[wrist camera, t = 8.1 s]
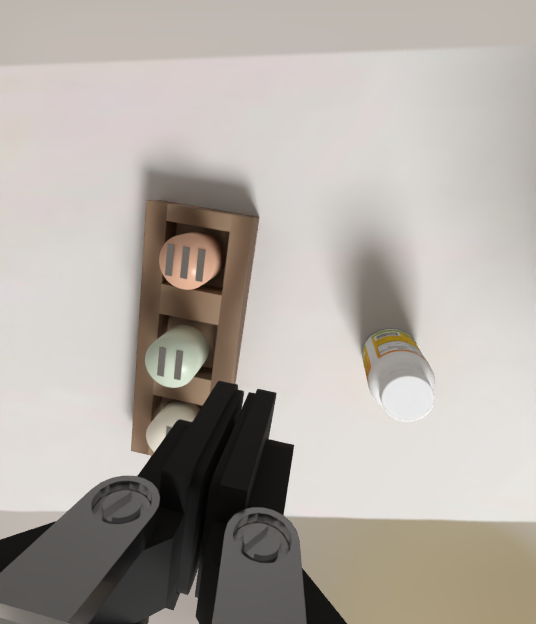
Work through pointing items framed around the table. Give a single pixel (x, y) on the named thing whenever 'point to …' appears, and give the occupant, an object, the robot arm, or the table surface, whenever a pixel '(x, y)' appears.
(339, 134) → the table surface
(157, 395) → the button board
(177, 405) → the button
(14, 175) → the table surface
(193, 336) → the button
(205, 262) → the button
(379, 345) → the supplement bottle
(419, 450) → the table surface
